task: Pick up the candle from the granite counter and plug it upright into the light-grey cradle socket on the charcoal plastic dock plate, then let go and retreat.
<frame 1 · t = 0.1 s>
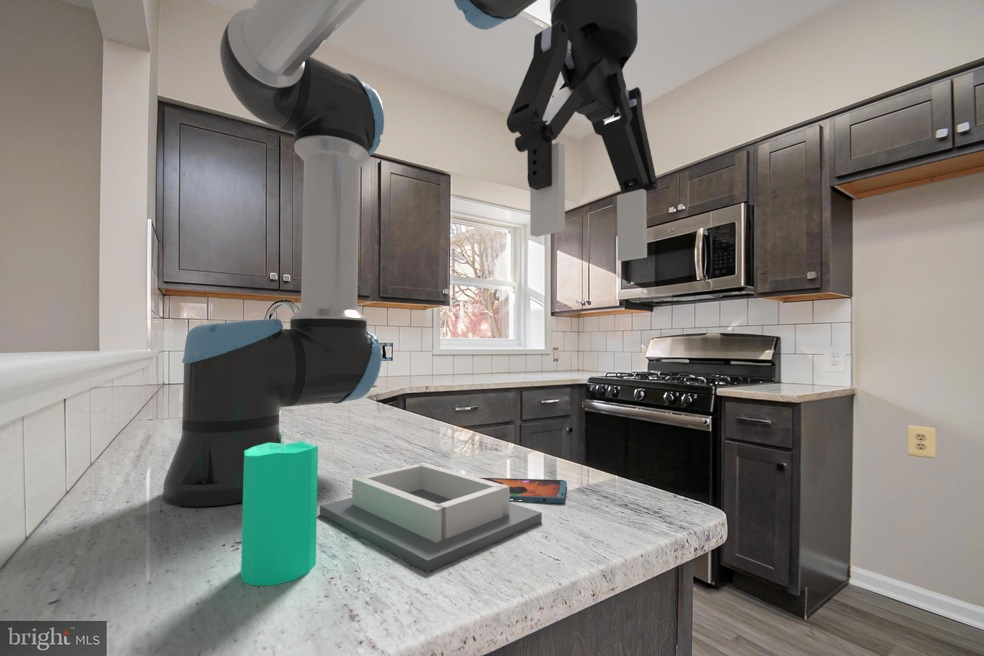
hand: (595, 248, 40), 28 cm above the countertop, fingers open, 13 cm apart
smartphone: (509, 495, 62), on the countertop
dock: (428, 517, 52), on the countertop
candle: (279, 570, 40), on the countertop
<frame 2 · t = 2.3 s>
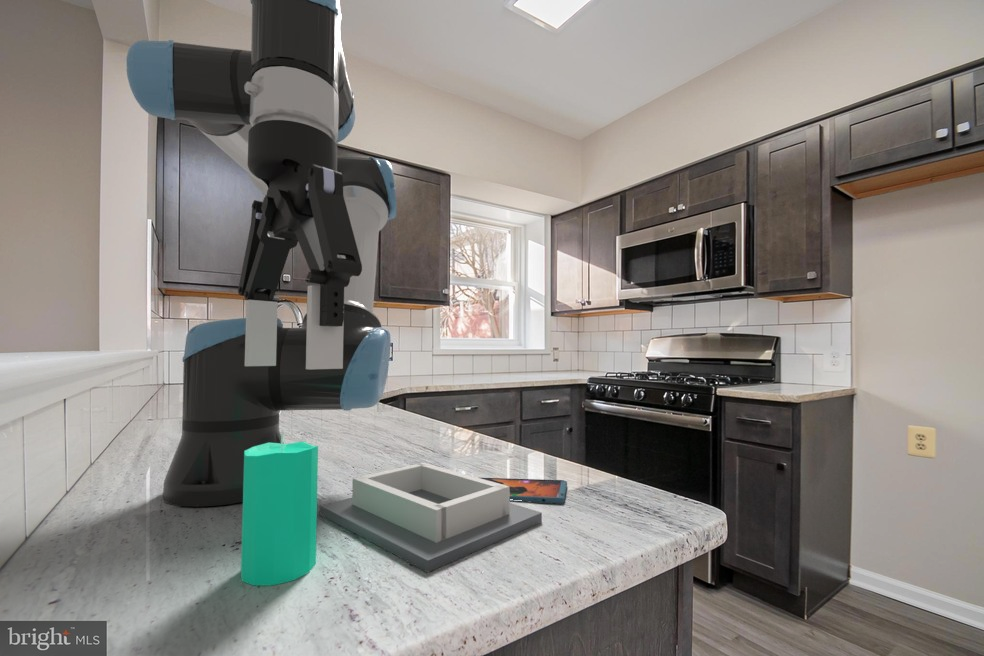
hand: (288, 367, 41), 17 cm above the countertop, fingers open, 13 cm apart
nothing on the countertop moved.
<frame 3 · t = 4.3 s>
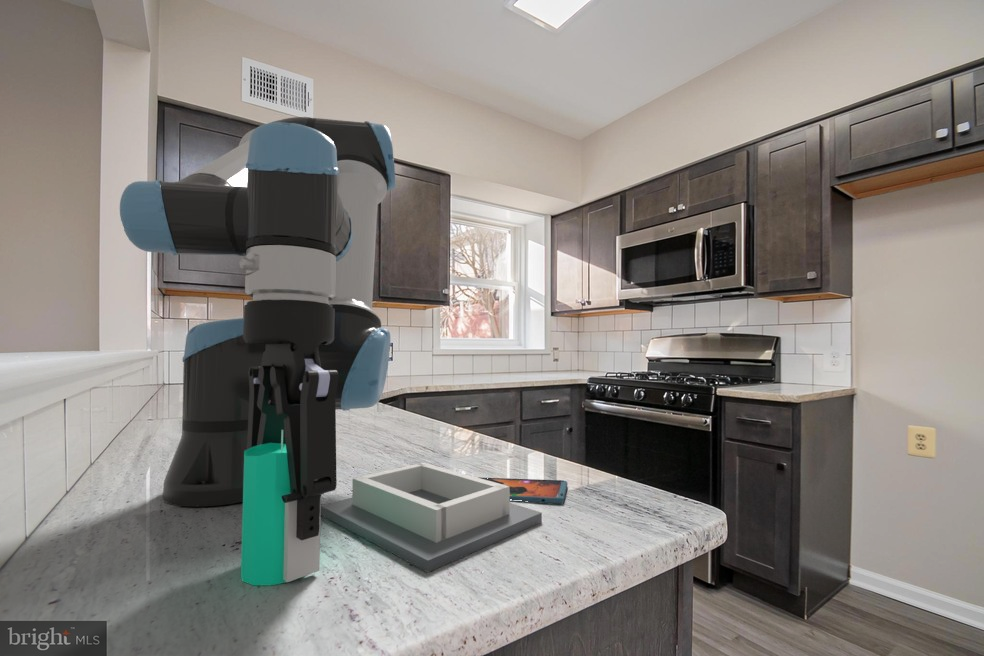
hand: (285, 561, 40), 0 cm above the countertop, fingers closed on candle, 6 cm apart
candle: (279, 570, 40), on the countertop, touching gripper
everything else where it was.
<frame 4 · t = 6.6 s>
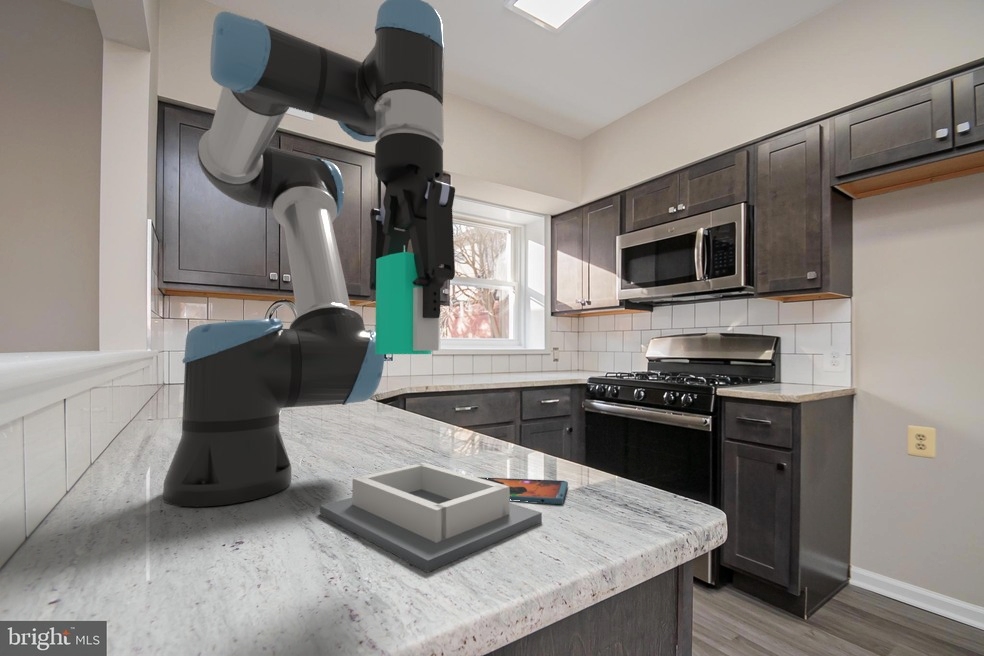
hand: (408, 350, 50), 19 cm above the countertop, fingers closed on candle, 6 cm apart
candle: (403, 356, 50), point 18 cm above the countertop, touching gripper
everything else where it was.
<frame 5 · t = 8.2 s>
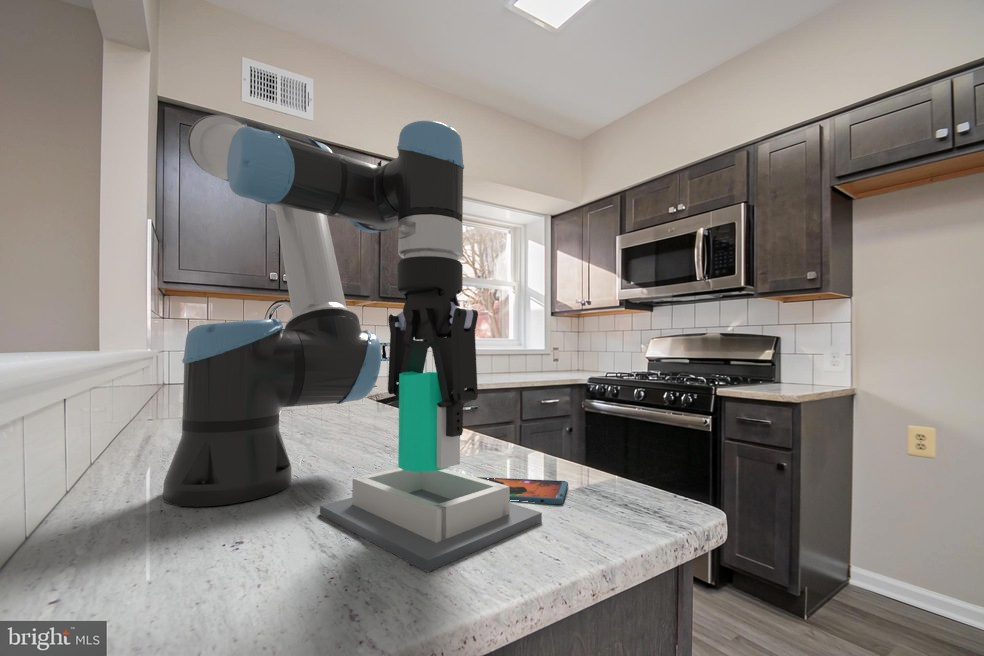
hand: (429, 460, 52), 6 cm above the countertop, fingers closed on candle, 6 cm apart
candle: (425, 466, 52), point 6 cm above the countertop, touching gripper
everything else where it was.
when the fingers open (3 cm above the countertop, at t = 9.2 s): candle drops 1 cm, resting on dock.
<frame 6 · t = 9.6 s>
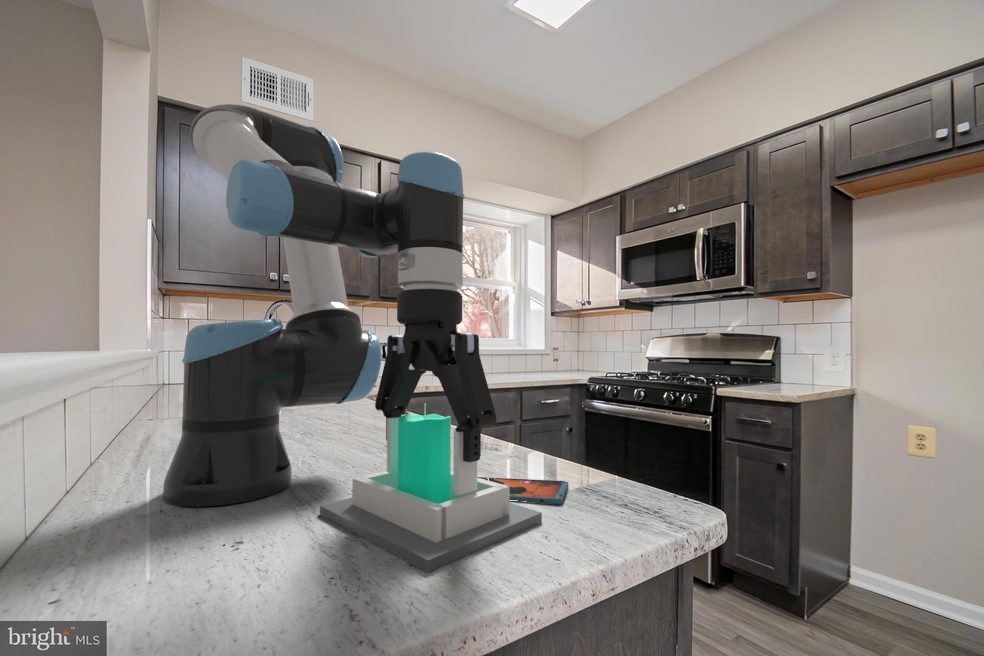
hand: (428, 480, 52), 4 cm above the countertop, fingers open, 11 cm apart
candle: (424, 511, 52), point 1 cm above the countertop, touching dock
everything else where it was.
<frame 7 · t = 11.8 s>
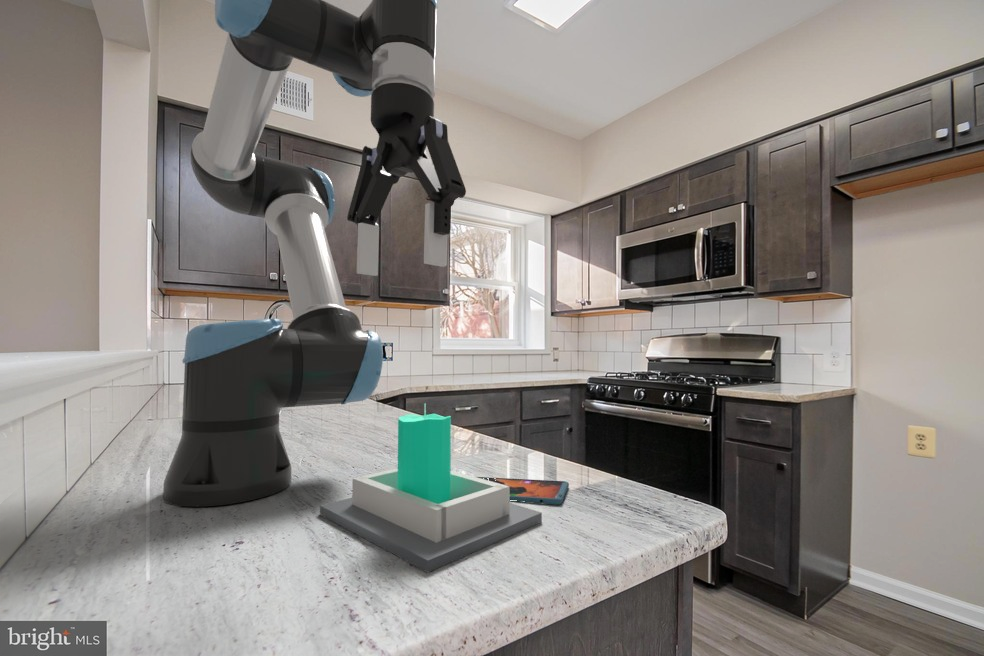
hand: (398, 270, 55), 29 cm above the countertop, fingers open, 13 cm apart
nothing on the countertop moved.
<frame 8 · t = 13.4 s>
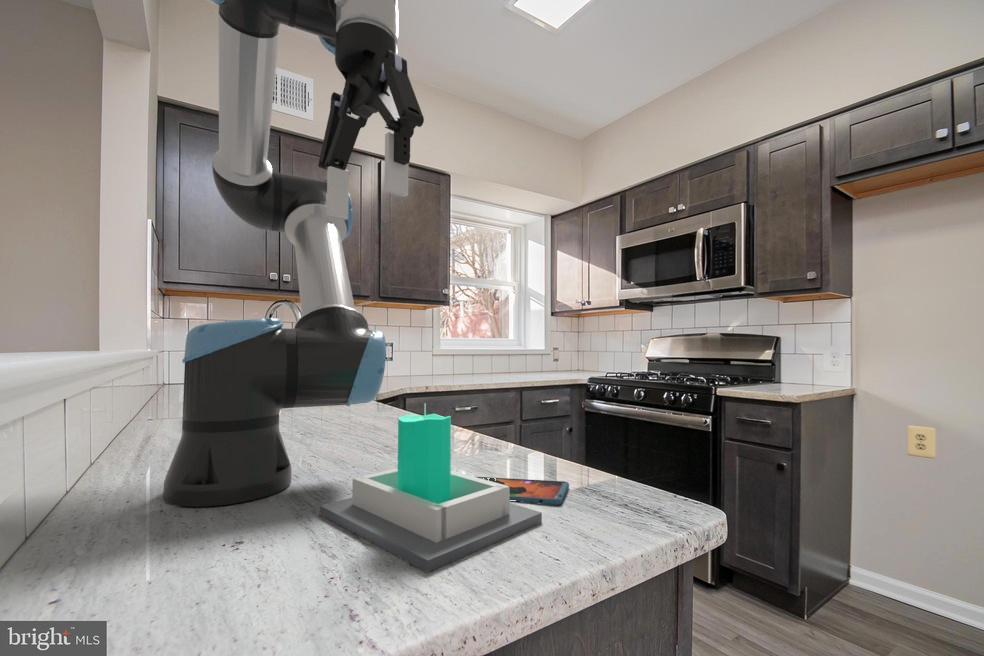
hand: (364, 206, 56), 37 cm above the countertop, fingers open, 13 cm apart
nothing on the countertop moved.
at the end: candle inside the target area on the dock (0.6 cm from its centre), point 0.8 cm above the dock's base; candle tilted 0°; the gripper is holding nothing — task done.
